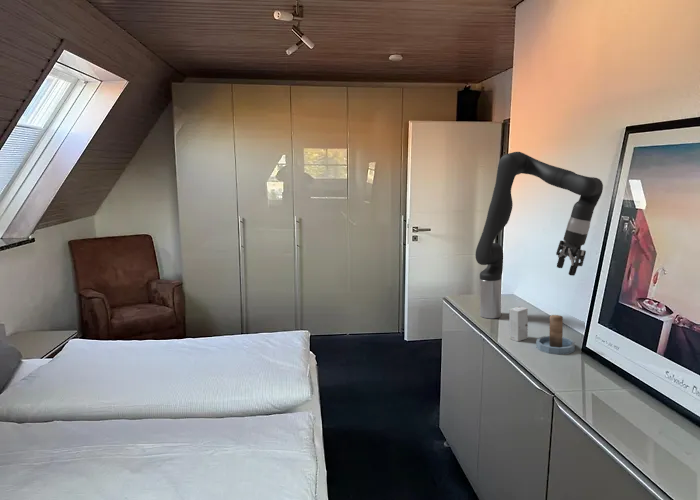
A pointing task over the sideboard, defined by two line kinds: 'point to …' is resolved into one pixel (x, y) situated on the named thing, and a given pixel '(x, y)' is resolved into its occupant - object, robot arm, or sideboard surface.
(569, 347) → the slate dish
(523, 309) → the skincare box
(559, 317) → the walnut canister
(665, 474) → the sideboard surface
